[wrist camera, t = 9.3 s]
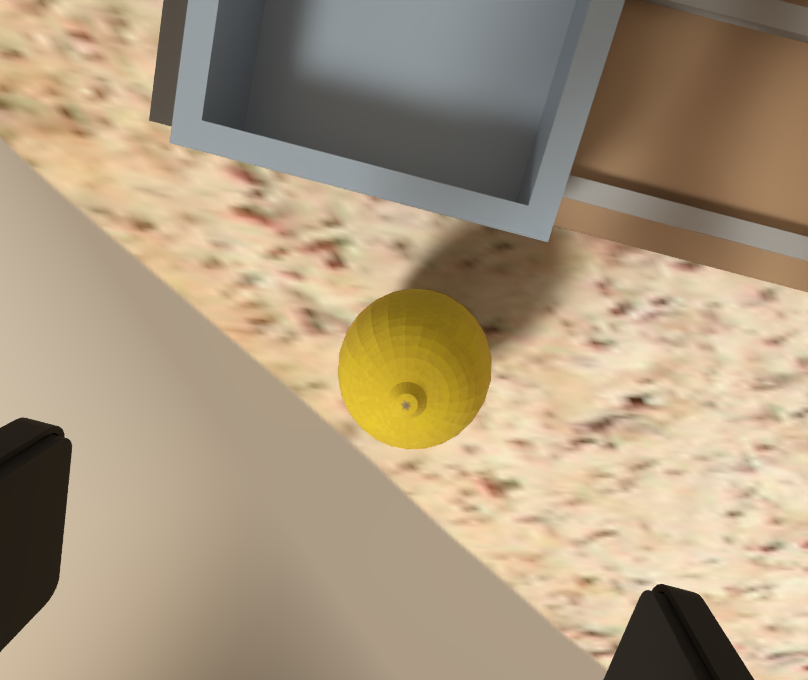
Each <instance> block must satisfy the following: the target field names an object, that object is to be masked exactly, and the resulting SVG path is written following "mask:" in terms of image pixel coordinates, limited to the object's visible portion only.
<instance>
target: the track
mask: <svg viewBox="0 0 808 680" xmlns="http://www.w3.org/2000/svg"><path fill="white" fill-rule="evenodd" d="M187 5H188V0H164V1H163V10H162V18H161V26H160V35H159V43H158V51H157V60H156V68H155V76H154V85H153V93H152V101H151V110H150V118H149V121H153V122H157V123H161V124H165V125H168V126H172V120H173V112H174V105H175V97H176V89H177V82H178V74H179V67H180V59H181V51H182V44H183V36H184V28H185V21H186V13H187ZM553 226H557V227H561V228H565V229H569V230H572V231H576V232H580V233H584V234H588V235H592V236H595V237H599V238H603V239H607V240H611V241H614V242H618V243H622V244H626V245H630V246H634V247H637V248H641V249H645V250H649V251H653V252H656V253H660V254H664V255H668V256H672V257H675V258H679V259H683V260H687V261H691V262H695V263H698V264H702V265H706V266H710V267H714V268H717V269H721V270H725V271H729V272H733V273H737V274H740V275H744V276H748V277H752V278H756V279H759V280H763V281H767V282H771V283H775V284H778V285H782V286H786V287H790V288H794V289H798V290H801V291H805V292H808V0H625V2H624V5H623V8H622V11H621V15H620V18H619V21H618V24H617V27H616V30H615V33H614V36H613V40H612V43H611V46H610V49H609V52H608V55H607V58H606V62H605V65H604V68H603V71H602V74H601V77H600V80H599V84H598V87H597V90H596V93H595V96H594V99H593V102H592V105H591V109H590V112H589V115H588V118H587V121H586V124H585V127H584V131H583V134H582V137H581V140H580V143H579V146H578V149H577V153H576V156H575V159H574V162H573V165H572V168H571V171H570V174H569V178H568V181H567V184H566V187H565V190H564V193H563V196H562V200H561V203H560V206H559V209H558V212H557V215H556V218H555V222H554V225H553Z"/></svg>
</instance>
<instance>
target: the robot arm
mask: <svg viewBox="0 0 808 680" xmlns="http://www.w3.org/2000/svg"><path fill="white" fill-rule="evenodd" d="M71 453H72V444H71V441H70V440H69V439H67V438H65V437H64V432H63V429H62V428H60V427H59V426H55V425H51V424H48V423H44V422H40V421H36V420H32V419H28V418H19V419H16V420H14V421H12V422H10V423H9V424H7V425H5V426H3V427H1V428H0V652H1V650H2V649H3V648H4V647H5V646H6V645H7V644H8V643H9V642H10V641H11V640H12V639H13V638H14V637H15V636H16V635H17V634H18V633H19V632H20V631H21V630H22V629H23V627H24V626H25V625H26V624H27V623H28V622H29V621H30V620H31V619H32V618H33V617H34V616H35V615H36V614H37V613H38V612H39V611H40V610H41V609H42V608H43V607H44V605H46V603H47V602H48V601H49V600H50V598H51V596H52V595H53V593H54V591H55V589H56V587H57V584H58V581H59V573H60V565H61V564H60V563H61V554H62V544H63V534H64V524H65V514H66V504H67V493H68V484H69V473H70V463H71ZM604 680H754V679H753V677H752V675H751V674H750V672H749V671H748V669H747V668H746V666H745V664H744V663H743V661H742V660H741V658H740V657H739V655H738V653H737V652H736V650H735V649H734V647H733V646H732V644H731V642H730V641H729V639H728V638H727V636H726V635H725V633H724V631H723V630H722V628H721V627H720V625H719V624H718V622H717V620H716V619H715V617H714V616H713V614H712V613H711V611H710V609H709V608H708V606H707V605H706V603H705V601H704V600H703V599H702V597H701V596H700V595H699V594H697V593H694V592H691V591H687V590H683V589H679V588H675V587H672V586H668V585H664V584H659V585H657V586H655V587H654V588H653V590H652V591H650V590H646V591H644V592H643V593H642V594H641V596H640V598H639V600H638V602H637V605H636V607H635V609H634V611H633V614H632V616H631V618H630V621H629V623H628V625H627V627H626V630H625V632H624V634H623V637H622V639H621V641H620V643H619V646H618V648H617V650H616V652H615V655H614V657H613V659H612V662H611V664H610V666H609V668H608V671H607V673H606V676H605V678H604Z"/></svg>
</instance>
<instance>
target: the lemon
mask: <svg viewBox="0 0 808 680" xmlns="http://www.w3.org/2000/svg"><path fill="white" fill-rule="evenodd" d="M338 378H339V384H340V389H341V395H342V398H343V400H344V402H345V404H346V407H347V409H348V411H349V413H350V415H351V416H352V417H353V418H354V420H355V421H356V422H357V423H358V425H359V426H360V427H361V428H362V429H363V430H364V431H366V432H367V433H368V434H370V435H371V436H372V437H373V438H375V439H377V440H379V441H381V442H383V443H385V444H387V445H390V446H394V447H399V448H404V449H425V448H428V447H432V446H436V445H439V444H442V443H444V442H446V441H448V440H450V439H451V438H453V437H455V436H457V435H458V434H459V433H460V432H461V431H462V430H463V429H464V428H465V427H467V426H468V425H469V424H470V423H471V422H472V421H473V419H474V418H475V416H476V414H477V413H478V411H479V410H480V408H481V406H482V405H483V403H484V401H485V398H486V395H487V391H488V388H489V385H490V381H491V354H490V350H489V346H488V342H487V338H486V336H485V334H484V332H483V330H482V328H481V327H480V325H479V323H478V321H477V320H476V318H475V317H474V316H473V315H472V314H471V313H470V312H469V311H468V310H467V309H466V308H465V307H464V306H463V305H462V304H460V303H459V302H457V301H455V300H454V299H452V298H451V297H449V296H448V295H444V294H441V293H438V292H435V291H432V290H425V289H407V290H401V291H396V292H392V293H390V294H388V295H386V296H384V297H381V298H379V299H377V300H375V301H374V302H373V303H371V304H370V305H369V306H368V307H367V308H366V309H364V310H363V311H362V312H361V313H360V314H359V315H358V316H357V318H356V319H355V321H354V322H353V323H352V325H351V326H350V328H349V329H348V331H347V333H346V336H345V338H344V341H343V344H342V347H341V349H340V355H339V366H338Z"/></svg>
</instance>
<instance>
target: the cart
mask: <svg viewBox="0 0 808 680" xmlns="http://www.w3.org/2000/svg"><path fill="white" fill-rule="evenodd" d="M624 2H625V0H188V5H187V13H186V21H185V28H184V36H183V44H182V51H181V59H180V67H179V74H178V82H177V89H176V97H175V105H174V112H173V120H172V128H171V135H170V143H172V144H175V145H179V146H183V147H187V148H191V149H194V150H198V151H202V152H206V153H210V154H214V155H217V156H221V157H225V158H229V159H233V160H236V161H240V162H244V163H248V164H252V165H255V166H259V167H263V168H267V169H271V170H274V171H278V172H282V173H286V174H290V175H293V176H297V177H301V178H305V179H309V180H312V181H316V182H320V183H324V184H328V185H332V186H335V187H339V188H343V189H347V190H351V191H354V192H358V193H362V194H366V195H370V196H373V197H377V198H381V199H385V200H389V201H392V202H396V203H400V204H404V205H408V206H411V207H415V208H419V209H423V210H427V211H430V212H434V213H438V214H442V215H446V216H450V217H453V218H457V219H461V220H465V221H469V222H472V223H476V224H480V225H484V226H488V227H491V228H495V229H499V230H503V231H507V232H510V233H514V234H518V235H522V236H526V237H529V238H533V239H537V240H541V241H545V242H548V240H549V237H550V234H551V231H552V228H553V225H554V222H555V218H556V215H557V212H558V209H559V206H560V203H561V200H562V196H563V193H564V190H565V187H566V184H567V181H568V178H569V174H570V171H571V168H572V165H573V162H574V159H575V156H576V153H577V149H578V146H579V143H580V140H581V137H582V134H583V131H584V127H585V124H586V121H587V118H588V115H589V112H590V109H591V105H592V102H593V99H594V96H595V93H596V90H597V87H598V84H599V80H600V77H601V74H602V71H603V68H604V65H605V62H606V58H607V55H608V52H609V49H610V46H611V43H612V40H613V36H614V33H615V30H616V27H617V24H618V21H619V18H620V15H621V11H622V8H623V5H624Z"/></svg>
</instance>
